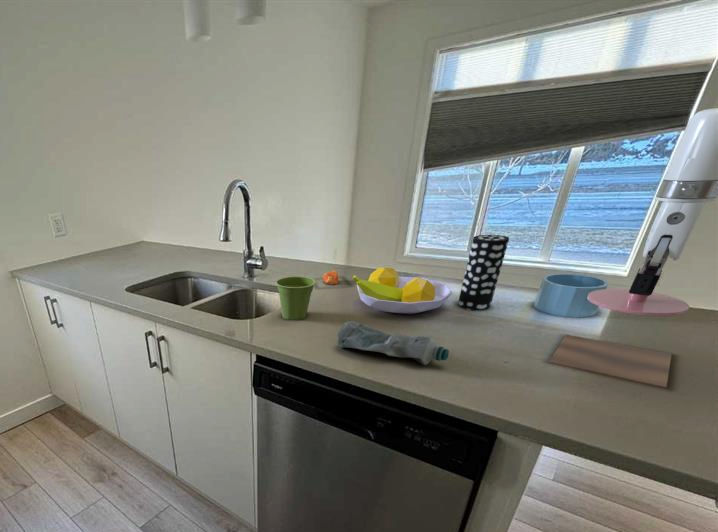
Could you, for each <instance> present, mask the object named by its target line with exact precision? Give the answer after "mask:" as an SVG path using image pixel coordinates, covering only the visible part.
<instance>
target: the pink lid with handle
mask: <svg viewBox="0 0 718 532" xmlns="http://www.w3.org/2000/svg"><path fill="white" fill-rule="evenodd" d="M642 266H643V264H641V267H640V270H641V268H642ZM645 269H646V268H645ZM639 273H640V271H639ZM643 273H644V272H643ZM629 290H630V288H629V289H627V288H607V289H602V290H596V291H592V292H590V293H589V294H588V296H587V299H588V300H589V301H590V302H591V303H593V304H595V305H597V306H599V308H604V309H607V310H611V311H615V312H619V313H625V314H632V315H640V316H649V317H651V316H652V317H671V316H672V317H673V316H679V315H680V316H681V315H684V314H685V313H687V312H689V310H690V304H689V303H687V302H686V301H684V300H682V299H680V298H677V297H674V296H671V295H666V294H663V293H659V292H654V291H653V292H652V294H651V295H650V296H646V295H638V294H630V293H629Z"/></svg>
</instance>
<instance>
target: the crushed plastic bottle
mask: <svg viewBox="0 0 718 532" xmlns="http://www.w3.org/2000/svg"><path fill="white" fill-rule="evenodd" d="M436 343H437V342H436V341H435V339H434V338H433V337H430V336H409V335H406V334H403V333H399V332H398V333H397V332H396V333H394V334H392V335H391V334H389V333H386V332H383V331H380V330H377V329H374V328H372V327H369V326H367V325H365V324H362V323H359V322H357V321H355V320H348V321H346V322H344V323H343V325H342V326H341V328H340V329H339V330H338V332H337V345H338V347H339V348H340V349H345V348H350V349H357V350H361V351H369V352H377V353H382V354H385V355H387V356H389V357H395V358H412V359H413V360H414V361H416V362H418V363H419V364H421V365H423V366H427V365H429V363H430V362H431V361H432V360H435V361H438V362H439V361H447V359H448V358H449V354H450V351H449V350H450V349H448V348H445V347H444V346H437V344H436Z"/></svg>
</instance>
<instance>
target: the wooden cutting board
mask: <svg viewBox="0 0 718 532" xmlns="http://www.w3.org/2000/svg"><path fill="white" fill-rule="evenodd" d="M672 355H673V353H669V352H664V351H658V350H653V349H647V348H641V347H636V346H630V345H625V344H619V343H614V342H608V341H603V340H597V339H593V338H586V337H581V336H576V335H570V334H565V336H564V338H563V340H562V341H561V343H560V344H559V346H558V347H557V349H556V351H555V352H554V354H553V355H552V357H551V358H550V360H549V361H548V363H549V364H552V365H558V366H562V367H567V368H571V369H576V370H579V371H585V372H590V373H594V374H599V375H602V376H607V377H612V378H616V379H621V380H625V381H629V382H634V383H638V384H642V385H647V386H653V387H657V388H661V389H667V387H668V381H669V374H670V369H671V368H670V367H671V363H672V362H671V361H672Z"/></svg>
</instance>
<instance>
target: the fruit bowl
mask: <svg viewBox="0 0 718 532" xmlns="http://www.w3.org/2000/svg"><path fill="white" fill-rule="evenodd" d="M352 279H353V280H354V281H355V283H356V288H357V292H358V295H359V298H360V300H361V302H363V303H364V304H366V305H367V306H368V307H370V308H373V309H375V310H377V311H380V312H386V313H393V314H402V315H415V314H419V313H422V312H426V311H431V310H435V309H439V308H440V307H441V306H442V305H443V304H444V303H445V302H446V301H447V300H448V299H449V298H450V296H452V294H453V293H454V292H453V291H452V290H451V289H450V287H449V286H448V285H447V284H446V283H442V282H440V281H435V280H431V279H427V278H424V277H418V276H415V277H414V276H413V277H410V276H400V275H399V272H398V271H397V270H395V268H394V267H385V266H380V267H378V268H377V269H376V270H374V271H373V272H371V273H370V275H369V277H368V279H367V280H366V279H362V278H359V277H358V276H357V275H353V276H352Z"/></svg>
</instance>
